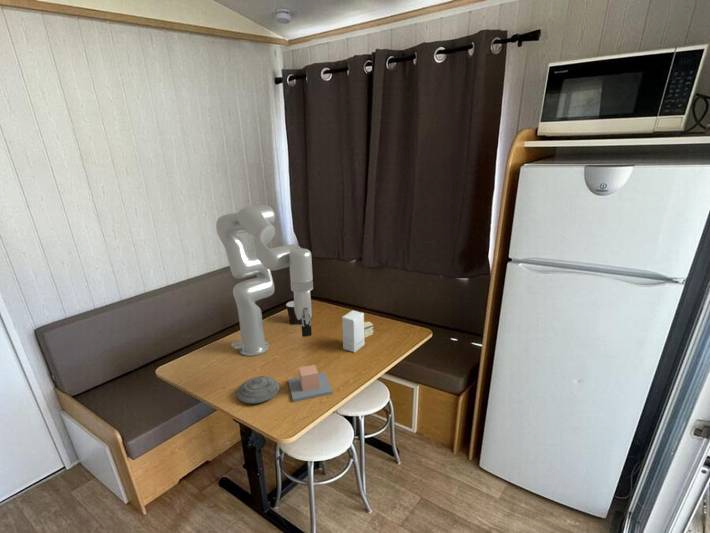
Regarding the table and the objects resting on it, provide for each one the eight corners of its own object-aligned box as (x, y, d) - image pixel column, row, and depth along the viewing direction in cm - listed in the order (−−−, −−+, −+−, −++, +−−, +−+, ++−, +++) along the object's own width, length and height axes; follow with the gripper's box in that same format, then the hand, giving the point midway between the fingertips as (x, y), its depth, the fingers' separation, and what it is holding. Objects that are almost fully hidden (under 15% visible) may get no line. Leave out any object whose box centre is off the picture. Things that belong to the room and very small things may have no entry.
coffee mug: (296, 326, 186) (295, 308, 183) (284, 323, 190) (282, 305, 188) (311, 318, 195) (310, 300, 192) (299, 315, 200) (297, 297, 197)
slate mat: (293, 402, 128) (292, 399, 128) (288, 381, 140) (288, 379, 140) (332, 393, 132) (332, 391, 132) (324, 374, 144) (324, 372, 144)
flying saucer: (254, 378, 144) (253, 365, 142) (288, 386, 138) (286, 373, 136) (227, 401, 130) (225, 387, 129) (263, 411, 125) (261, 396, 123)
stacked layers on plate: (369, 329, 181) (368, 318, 180) (379, 336, 174) (378, 325, 172) (351, 334, 177) (350, 323, 175) (360, 341, 169) (360, 330, 168)
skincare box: (353, 341, 169) (352, 309, 165) (365, 345, 165) (365, 312, 161) (342, 349, 163) (341, 316, 158) (354, 353, 159) (353, 319, 154)
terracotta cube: (302, 391, 132) (301, 376, 131) (300, 382, 138) (298, 367, 136) (319, 387, 134) (318, 373, 132) (316, 378, 140) (315, 364, 138)
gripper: (288, 278, 135) (291, 321, 140) (294, 294, 119) (297, 342, 125) (308, 276, 137) (311, 318, 142) (317, 292, 121) (319, 339, 126)
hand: (304, 329), depth 133 cm, fingers open, 9 cm apart
